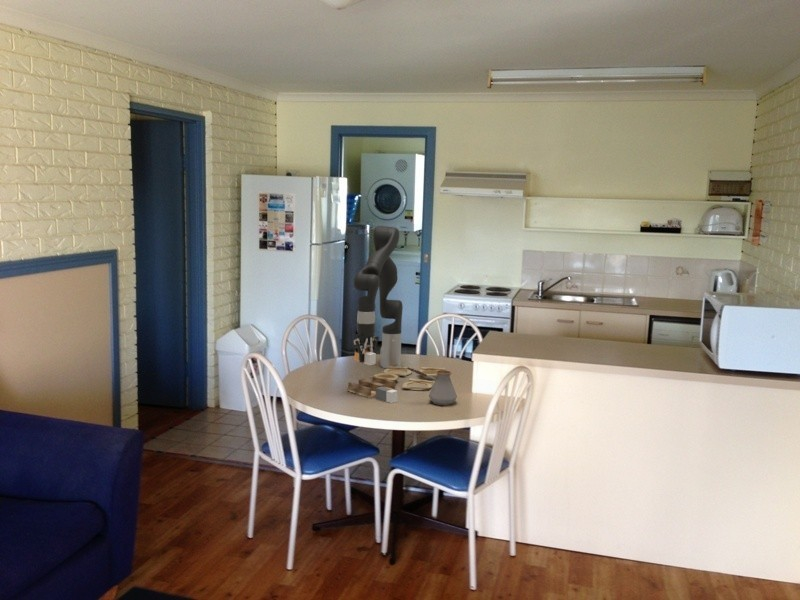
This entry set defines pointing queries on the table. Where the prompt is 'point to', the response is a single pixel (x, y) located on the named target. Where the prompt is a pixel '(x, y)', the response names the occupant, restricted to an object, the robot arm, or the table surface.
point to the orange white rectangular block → (366, 357)
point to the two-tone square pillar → (386, 394)
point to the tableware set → (393, 376)
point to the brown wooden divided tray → (370, 386)
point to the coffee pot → (440, 387)
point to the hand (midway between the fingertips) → (365, 361)
